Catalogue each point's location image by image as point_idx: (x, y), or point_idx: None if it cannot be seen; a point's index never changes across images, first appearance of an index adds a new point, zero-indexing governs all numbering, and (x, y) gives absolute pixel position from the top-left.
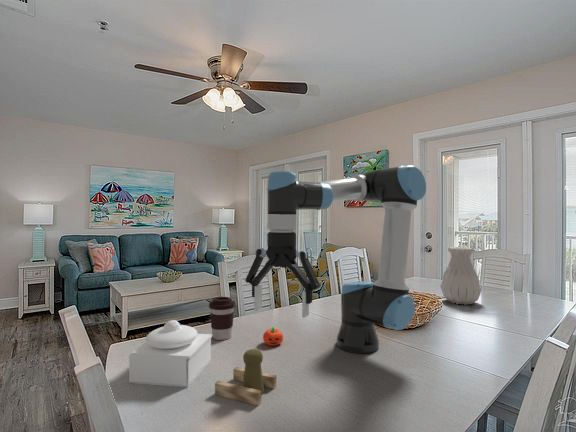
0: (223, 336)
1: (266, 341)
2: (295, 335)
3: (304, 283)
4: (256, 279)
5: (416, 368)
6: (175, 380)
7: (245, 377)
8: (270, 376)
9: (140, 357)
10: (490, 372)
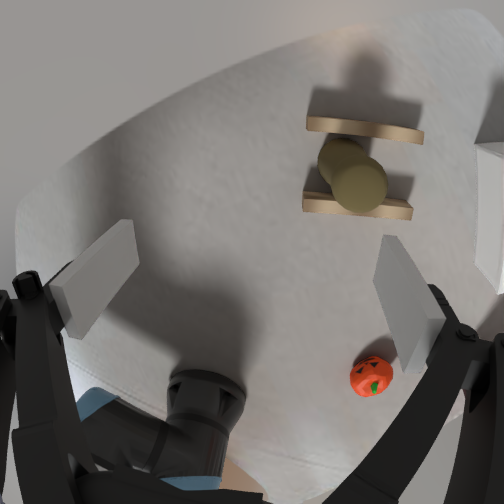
0: None
1: (381, 359)
2: (333, 404)
3: (26, 318)
4: (451, 360)
5: (98, 338)
6: (500, 144)
7: (361, 152)
8: (314, 201)
9: None
10: None
